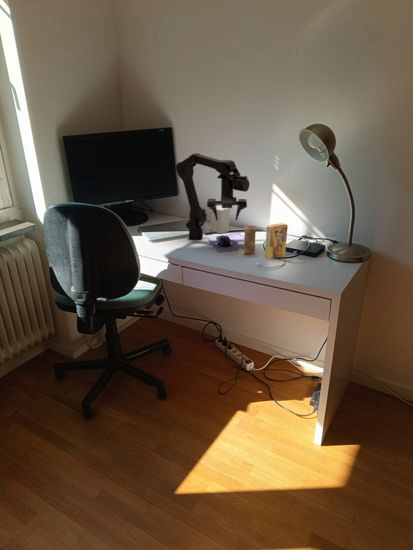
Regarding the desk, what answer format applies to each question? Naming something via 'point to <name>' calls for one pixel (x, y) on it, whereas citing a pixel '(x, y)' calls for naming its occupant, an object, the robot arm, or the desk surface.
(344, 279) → the desk surface
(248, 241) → the walnut block
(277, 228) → the candy box
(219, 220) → the small box
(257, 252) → the grey flat square plate
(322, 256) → the desk surface
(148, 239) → the desk surface
